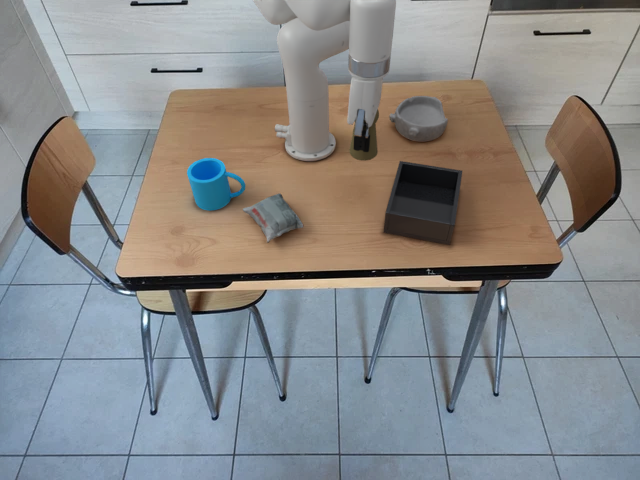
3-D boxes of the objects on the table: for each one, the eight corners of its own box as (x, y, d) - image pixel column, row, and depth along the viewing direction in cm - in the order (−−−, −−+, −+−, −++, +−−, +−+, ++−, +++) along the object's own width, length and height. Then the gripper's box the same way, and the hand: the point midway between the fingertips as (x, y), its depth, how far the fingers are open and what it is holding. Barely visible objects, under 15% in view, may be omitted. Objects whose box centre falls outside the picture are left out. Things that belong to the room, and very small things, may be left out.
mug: (191, 210, 108) (182, 182, 102) (199, 185, 113) (191, 157, 107) (245, 211, 107) (239, 183, 101) (250, 186, 113) (245, 158, 106)
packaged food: (268, 250, 100) (266, 233, 96) (243, 215, 106) (240, 198, 103) (305, 233, 102) (304, 216, 99) (278, 200, 109) (276, 183, 106)
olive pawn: (375, 162, 101) (379, 117, 93) (347, 158, 102) (348, 114, 94) (379, 144, 105) (383, 99, 97) (351, 140, 106) (353, 96, 98)
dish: (430, 106, 132) (433, 90, 128) (457, 135, 123) (461, 118, 119) (381, 119, 128) (383, 102, 125) (406, 149, 120) (408, 132, 116)
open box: (383, 232, 102) (385, 212, 97) (397, 181, 112) (399, 160, 108) (449, 245, 99) (454, 225, 95) (457, 191, 110) (462, 170, 105)
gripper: (359, 37, 94) (355, 117, 108) (337, 84, 84) (336, 165, 98) (398, 42, 93) (389, 122, 107) (380, 90, 82) (373, 172, 96)
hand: (363, 142), depth 102 cm, fingers closed on olive pawn, 4 cm apart
